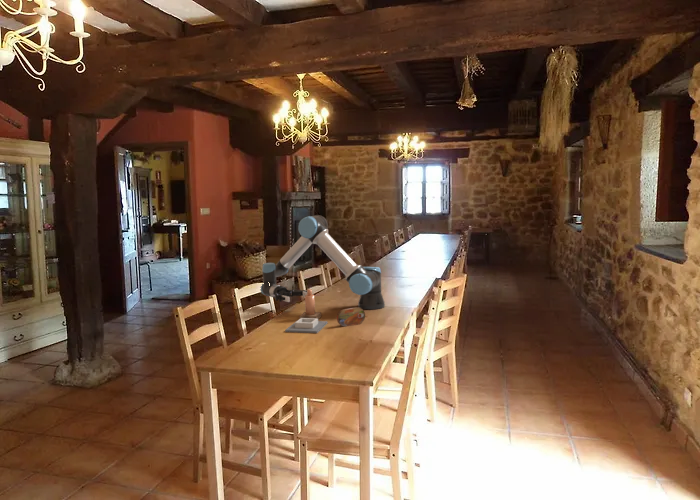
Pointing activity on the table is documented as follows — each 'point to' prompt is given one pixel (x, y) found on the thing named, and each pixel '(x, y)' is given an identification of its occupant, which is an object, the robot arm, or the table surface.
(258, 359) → the table surface
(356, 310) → the tin
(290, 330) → the holder
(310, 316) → the block
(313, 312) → the bottle
